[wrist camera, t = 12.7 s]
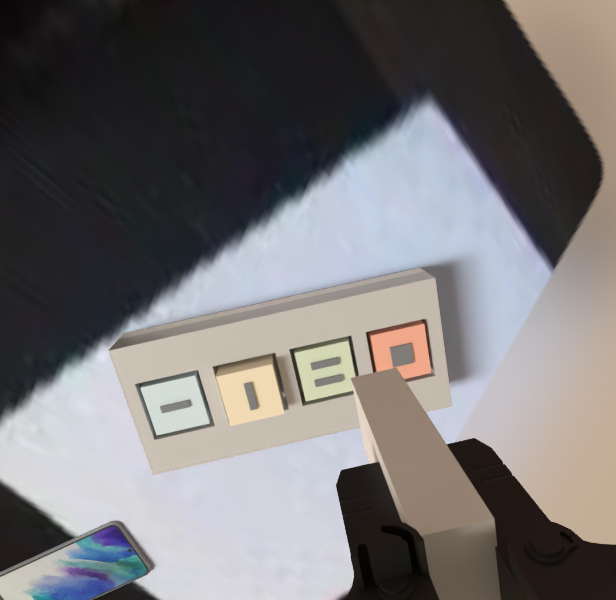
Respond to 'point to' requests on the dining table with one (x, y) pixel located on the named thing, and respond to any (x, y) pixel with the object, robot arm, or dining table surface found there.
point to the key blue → (176, 402)
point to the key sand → (250, 389)
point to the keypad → (277, 363)
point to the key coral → (400, 349)
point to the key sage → (325, 368)
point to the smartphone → (78, 567)
